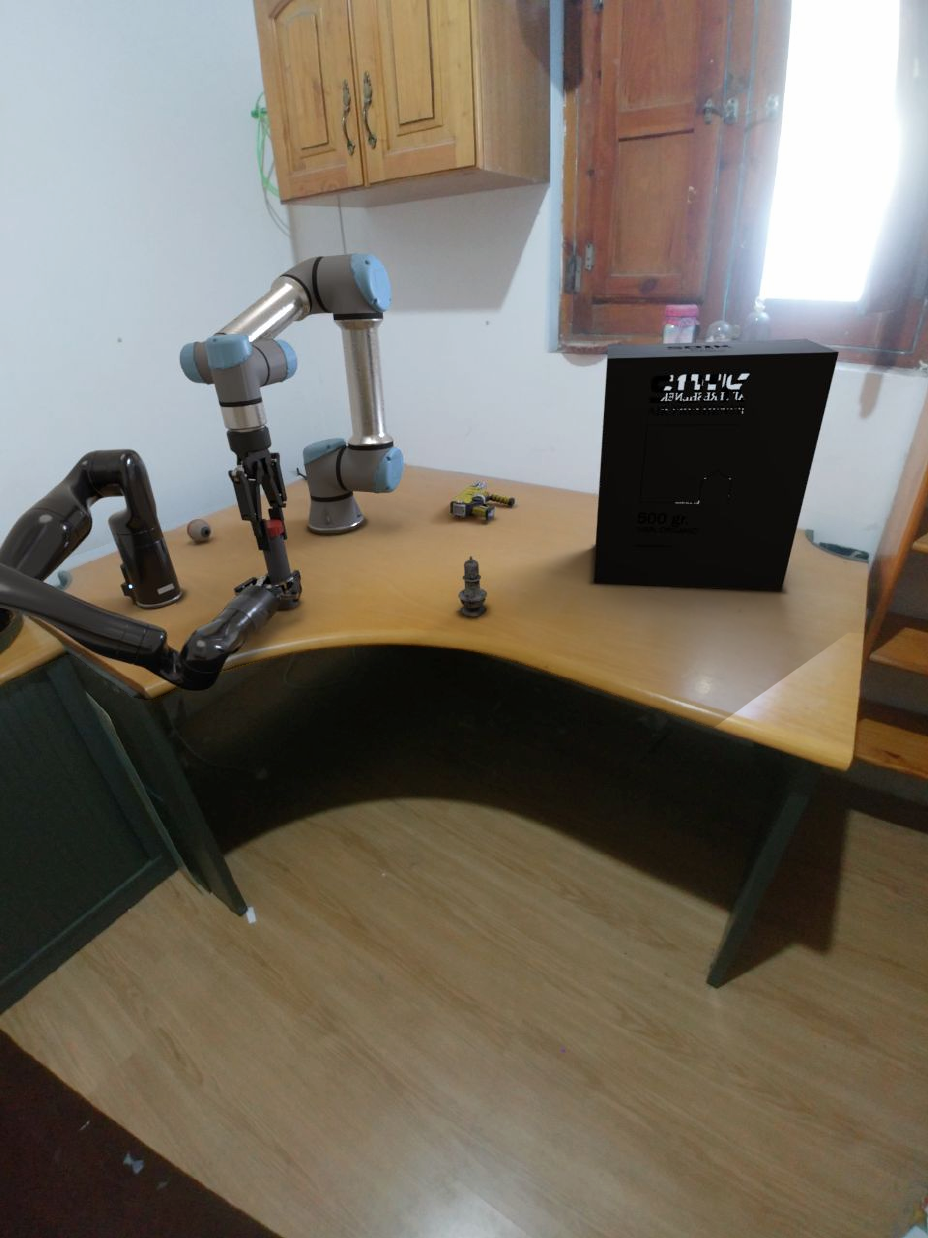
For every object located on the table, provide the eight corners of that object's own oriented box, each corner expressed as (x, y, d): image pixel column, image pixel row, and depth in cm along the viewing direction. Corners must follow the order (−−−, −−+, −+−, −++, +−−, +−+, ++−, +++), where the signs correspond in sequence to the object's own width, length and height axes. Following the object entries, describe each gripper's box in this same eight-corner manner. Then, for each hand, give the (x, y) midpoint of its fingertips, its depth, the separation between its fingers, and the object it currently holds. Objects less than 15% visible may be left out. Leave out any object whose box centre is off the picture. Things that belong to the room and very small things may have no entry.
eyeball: (200, 546, 160) (194, 525, 157) (185, 542, 163) (179, 521, 160) (219, 538, 165) (213, 517, 162) (204, 535, 168) (198, 514, 165)
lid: (278, 537, 119) (276, 528, 118) (253, 537, 119) (251, 528, 118) (287, 527, 123) (285, 518, 122) (263, 528, 124) (261, 519, 123)
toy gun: (523, 485, 181) (476, 478, 185) (501, 509, 161) (448, 500, 165) (521, 500, 184) (475, 493, 187) (499, 525, 163) (447, 517, 167)
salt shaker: (485, 617, 120) (483, 562, 114) (456, 616, 121) (452, 561, 115) (490, 603, 125) (488, 550, 119) (462, 602, 126) (459, 549, 120)
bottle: (278, 600, 131) (261, 526, 123) (299, 599, 131) (283, 525, 123) (274, 610, 127) (255, 535, 119) (295, 609, 128) (279, 533, 119)
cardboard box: (760, 550, 140) (805, 338, 118) (781, 591, 123) (838, 351, 101) (595, 545, 148) (608, 345, 125) (593, 582, 131) (607, 358, 108)
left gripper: (219, 628, 117) (259, 588, 132) (287, 631, 115) (321, 590, 129) (209, 593, 114) (252, 556, 128) (279, 596, 111) (315, 558, 126)
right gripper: (257, 416, 119) (281, 526, 131) (197, 439, 105) (230, 561, 116) (290, 416, 117) (312, 529, 129) (234, 440, 102) (264, 564, 114)
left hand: (286, 573), depth 129 cm, fingers closed on bottle, 4 cm apart
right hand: (273, 544), depth 123 cm, fingers closed on lid, 5 cm apart
